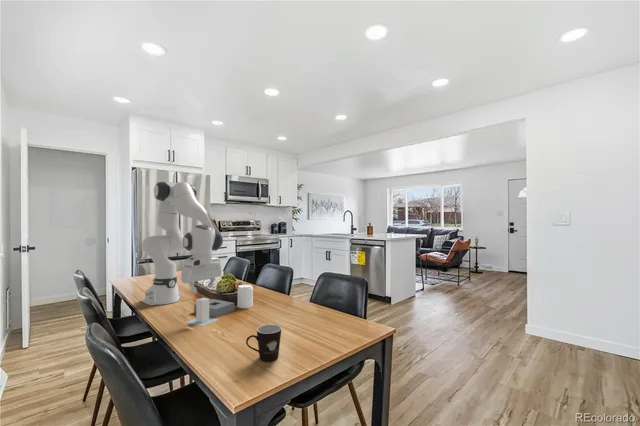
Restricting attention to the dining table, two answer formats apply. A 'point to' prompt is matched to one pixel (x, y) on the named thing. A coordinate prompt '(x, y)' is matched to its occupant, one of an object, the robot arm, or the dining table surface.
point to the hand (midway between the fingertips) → (202, 289)
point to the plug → (202, 310)
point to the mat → (203, 322)
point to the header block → (219, 307)
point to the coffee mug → (267, 342)
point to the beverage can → (245, 296)
